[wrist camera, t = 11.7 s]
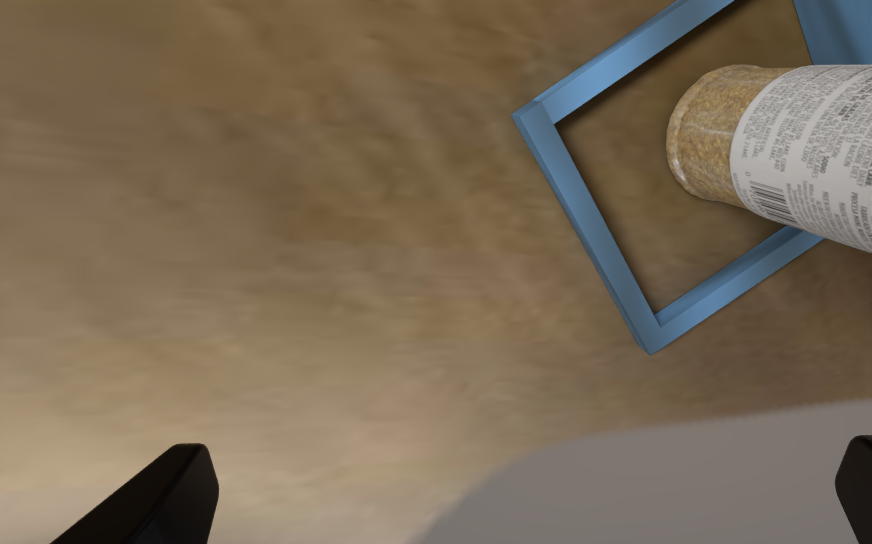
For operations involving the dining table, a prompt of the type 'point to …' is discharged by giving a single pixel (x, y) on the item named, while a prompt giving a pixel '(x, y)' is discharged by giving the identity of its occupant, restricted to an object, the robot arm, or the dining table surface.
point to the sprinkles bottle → (781, 145)
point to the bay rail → (828, 45)
